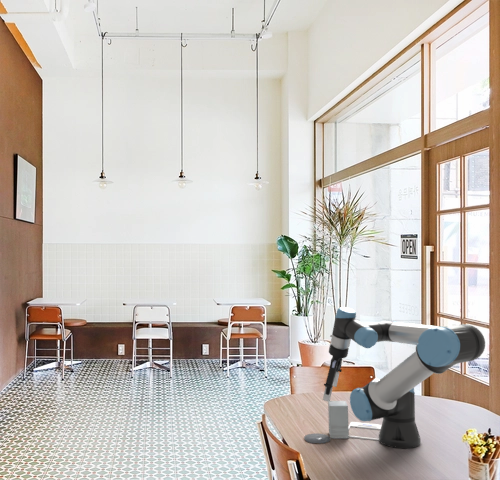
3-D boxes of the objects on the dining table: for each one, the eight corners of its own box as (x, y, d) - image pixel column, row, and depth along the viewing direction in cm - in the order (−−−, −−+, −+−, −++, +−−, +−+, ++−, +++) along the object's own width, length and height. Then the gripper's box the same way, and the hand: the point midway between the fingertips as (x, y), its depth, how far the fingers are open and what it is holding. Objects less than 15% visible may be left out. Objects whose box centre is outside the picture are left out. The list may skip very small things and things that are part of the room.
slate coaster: (335, 441, 194) (335, 439, 194) (313, 445, 190) (313, 444, 190) (321, 433, 203) (321, 431, 203) (299, 437, 199) (299, 435, 199)
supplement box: (347, 432, 203) (346, 400, 204) (348, 439, 196) (348, 405, 196) (328, 432, 204) (327, 400, 204) (329, 438, 197) (328, 405, 197)
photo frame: (386, 424, 210) (381, 439, 193) (386, 427, 210) (381, 442, 193) (351, 421, 215) (343, 434, 199) (351, 423, 215) (343, 437, 198)
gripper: (336, 332, 215) (327, 377, 220) (323, 354, 192) (313, 404, 197) (354, 337, 213) (344, 382, 218) (343, 360, 190) (332, 410, 195)
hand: (329, 393), depth 208 cm, fingers open, 13 cm apart
